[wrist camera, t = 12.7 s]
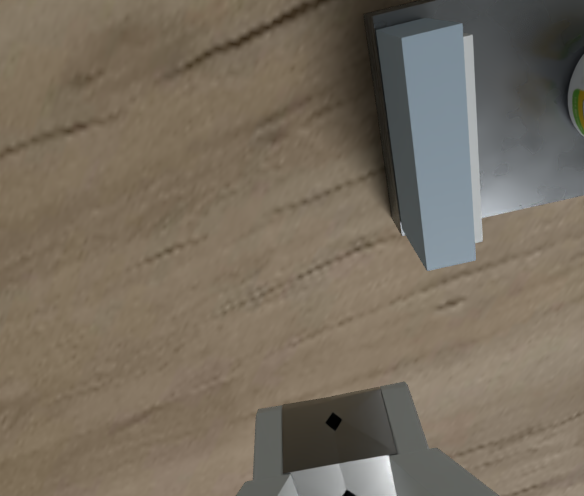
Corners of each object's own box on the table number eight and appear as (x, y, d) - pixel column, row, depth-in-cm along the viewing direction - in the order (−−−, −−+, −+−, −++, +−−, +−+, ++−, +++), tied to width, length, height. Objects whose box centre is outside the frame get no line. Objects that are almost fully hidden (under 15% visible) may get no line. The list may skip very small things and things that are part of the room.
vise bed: (392, 219, 26) (426, 277, 21) (363, 14, 21) (397, 21, 16) (701, 149, 25) (819, 191, 20) (740, -80, 21) (906, -105, 15)
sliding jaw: (402, 229, 24) (427, 271, 20) (376, 29, 20) (401, 38, 16) (453, 217, 24) (488, 257, 20) (438, 14, 20) (477, 19, 16)
